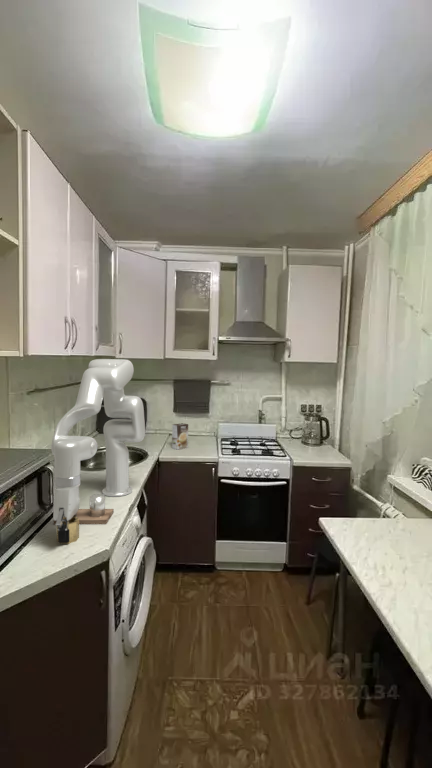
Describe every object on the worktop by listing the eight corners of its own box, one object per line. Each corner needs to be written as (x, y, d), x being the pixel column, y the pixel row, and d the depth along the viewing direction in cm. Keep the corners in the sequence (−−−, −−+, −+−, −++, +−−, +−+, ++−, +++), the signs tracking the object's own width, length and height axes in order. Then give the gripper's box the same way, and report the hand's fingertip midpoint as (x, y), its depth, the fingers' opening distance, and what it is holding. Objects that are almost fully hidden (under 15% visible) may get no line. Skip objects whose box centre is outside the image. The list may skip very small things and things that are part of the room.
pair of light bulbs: (70, 511, 135) (70, 492, 134) (106, 511, 135) (106, 492, 135) (64, 517, 129) (64, 497, 129) (102, 517, 130) (102, 497, 129)
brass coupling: (62, 534, 119) (61, 516, 119) (81, 534, 119) (80, 516, 119) (54, 543, 113) (54, 524, 113) (74, 543, 113) (74, 524, 113)
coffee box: (177, 449, 243) (177, 425, 243) (171, 448, 248) (171, 424, 247) (188, 447, 250) (188, 424, 249) (182, 446, 254) (182, 423, 254)
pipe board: (64, 512, 137) (64, 508, 137) (113, 512, 137) (113, 508, 137) (53, 524, 127) (53, 520, 127) (106, 524, 127) (106, 520, 127)
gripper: (65, 472, 124) (66, 525, 125) (43, 489, 107) (43, 550, 107) (88, 472, 124) (88, 525, 125) (69, 489, 107) (70, 550, 108)
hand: (68, 536), depth 116 cm, fingers closed on brass coupling, 6 cm apart
